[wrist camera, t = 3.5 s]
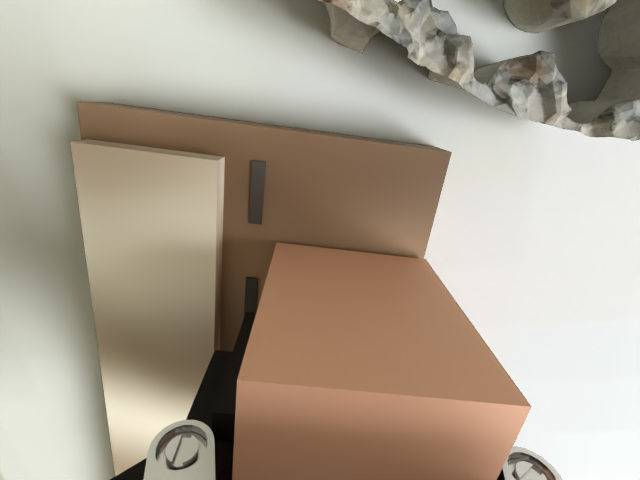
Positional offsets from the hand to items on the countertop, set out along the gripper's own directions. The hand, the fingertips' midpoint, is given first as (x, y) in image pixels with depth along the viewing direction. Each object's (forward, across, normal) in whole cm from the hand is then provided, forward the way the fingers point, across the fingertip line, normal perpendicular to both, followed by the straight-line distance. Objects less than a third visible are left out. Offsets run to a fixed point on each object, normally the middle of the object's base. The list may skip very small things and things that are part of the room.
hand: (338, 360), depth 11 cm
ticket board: (+3, +3, +7) cm, 8 cm away
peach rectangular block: (+1, 0, 0) cm, 1 cm away
